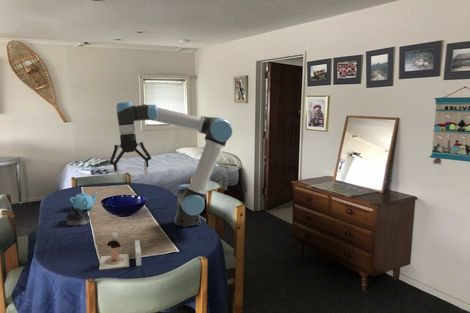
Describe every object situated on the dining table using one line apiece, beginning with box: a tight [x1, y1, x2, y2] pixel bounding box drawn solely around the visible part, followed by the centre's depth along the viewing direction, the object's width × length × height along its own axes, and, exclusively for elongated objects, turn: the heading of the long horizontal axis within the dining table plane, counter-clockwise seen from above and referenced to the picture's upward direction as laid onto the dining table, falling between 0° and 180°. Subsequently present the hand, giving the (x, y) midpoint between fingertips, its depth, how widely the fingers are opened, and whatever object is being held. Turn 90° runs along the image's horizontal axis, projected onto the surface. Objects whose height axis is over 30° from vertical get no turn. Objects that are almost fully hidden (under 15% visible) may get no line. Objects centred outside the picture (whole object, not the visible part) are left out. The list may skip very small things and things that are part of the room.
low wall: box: [134, 239, 142, 267], centre depth 159 cm, size 2×14×6 cm, turn 18°
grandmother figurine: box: [106, 232, 122, 262], centre depth 155 cm, size 8×4×13 cm, turn 83°
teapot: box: [69, 191, 99, 212], centre depth 226 cm, size 13×14×11 cm
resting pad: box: [98, 253, 130, 271], centre depth 156 cm, size 12×12×1 cm
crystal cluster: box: [66, 207, 91, 226], centre depth 202 cm, size 13×14×10 cm
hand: (132, 175), depth 178 cm, fingers open, 13 cm apart
